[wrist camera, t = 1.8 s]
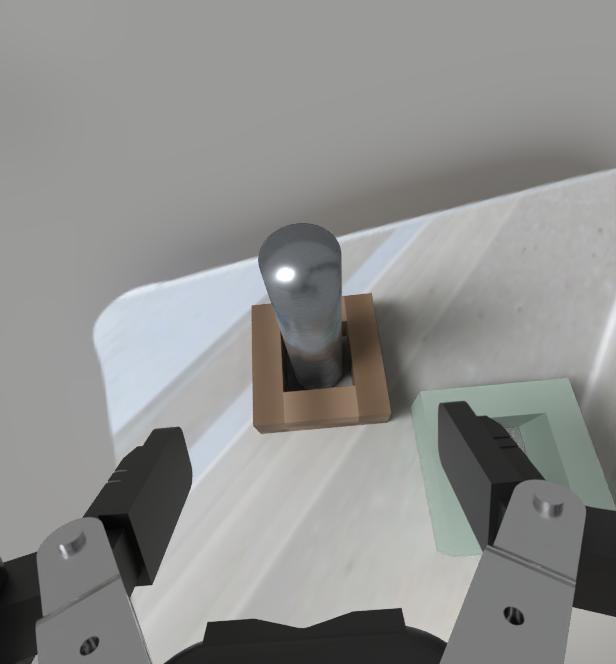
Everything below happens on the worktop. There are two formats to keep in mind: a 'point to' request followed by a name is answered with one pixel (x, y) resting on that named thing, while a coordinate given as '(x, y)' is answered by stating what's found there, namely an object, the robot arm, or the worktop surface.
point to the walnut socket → (319, 404)
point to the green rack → (539, 440)
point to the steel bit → (306, 299)
